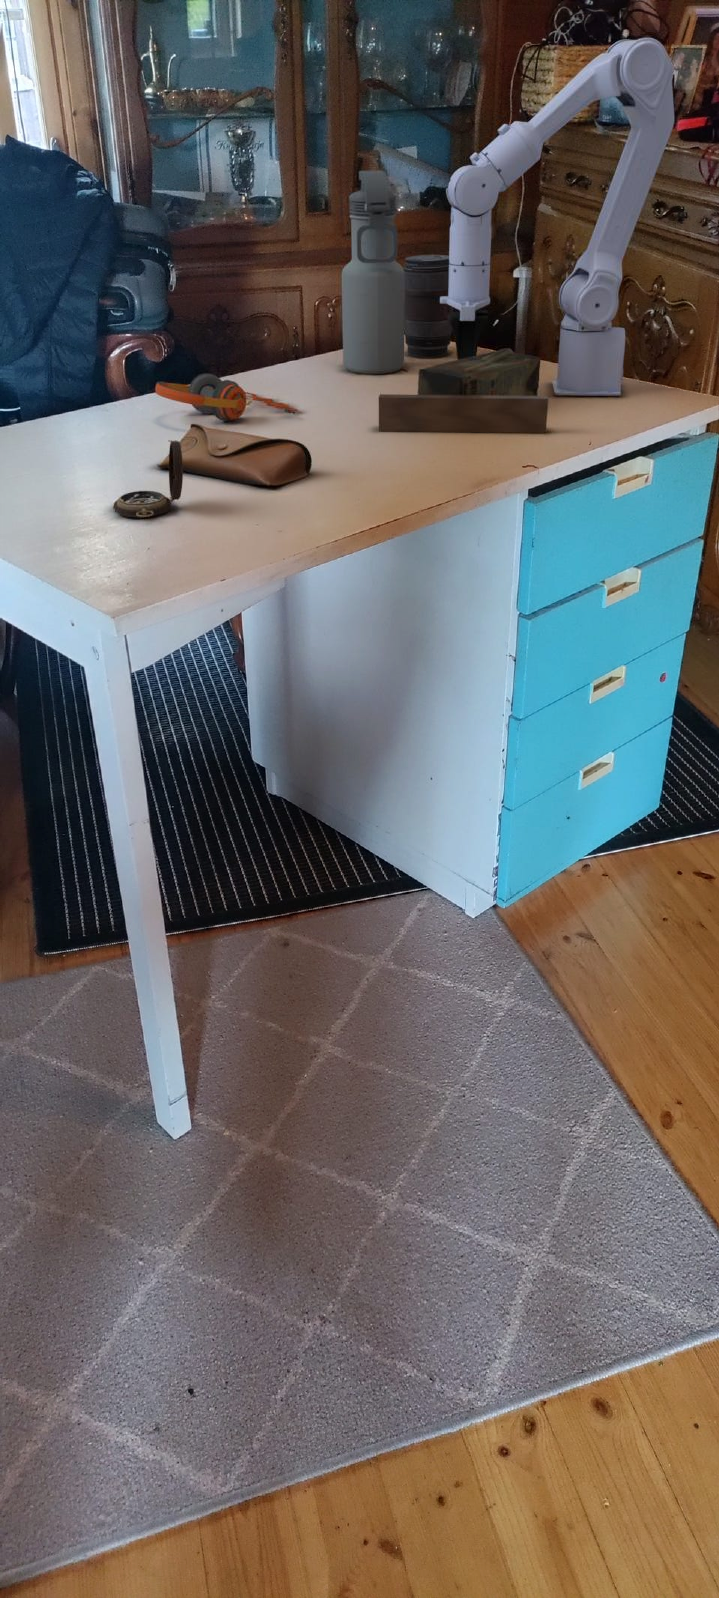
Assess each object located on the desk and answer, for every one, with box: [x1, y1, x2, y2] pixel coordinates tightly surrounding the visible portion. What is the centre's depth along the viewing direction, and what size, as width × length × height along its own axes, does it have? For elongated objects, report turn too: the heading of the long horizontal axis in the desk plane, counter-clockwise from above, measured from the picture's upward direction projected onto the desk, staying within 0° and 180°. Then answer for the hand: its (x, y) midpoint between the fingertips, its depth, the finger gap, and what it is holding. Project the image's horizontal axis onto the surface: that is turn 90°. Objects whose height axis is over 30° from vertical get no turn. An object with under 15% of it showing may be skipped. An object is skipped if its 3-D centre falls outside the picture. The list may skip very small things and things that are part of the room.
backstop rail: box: [378, 393, 549, 434], centre depth 156 cm, size 22×2×4 cm, turn 84°
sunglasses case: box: [156, 423, 313, 487], centre depth 142 cm, size 18×7×7 cm
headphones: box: [155, 373, 299, 422], centre depth 165 cm, size 17×5×20 cm
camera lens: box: [403, 254, 454, 359], centre depth 196 cm, size 8×8×15 cm
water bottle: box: [341, 169, 405, 375], centre depth 183 cm, size 10×10×28 cm
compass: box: [112, 439, 184, 518], centre depth 128 cm, size 8×8×7 cm
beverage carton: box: [417, 348, 541, 396], centre depth 166 cm, size 8×19×7 cm, turn 138°
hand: (466, 365), depth 172 cm, fingers closed
